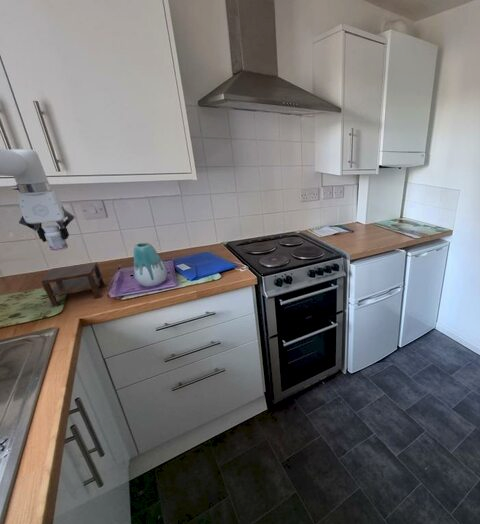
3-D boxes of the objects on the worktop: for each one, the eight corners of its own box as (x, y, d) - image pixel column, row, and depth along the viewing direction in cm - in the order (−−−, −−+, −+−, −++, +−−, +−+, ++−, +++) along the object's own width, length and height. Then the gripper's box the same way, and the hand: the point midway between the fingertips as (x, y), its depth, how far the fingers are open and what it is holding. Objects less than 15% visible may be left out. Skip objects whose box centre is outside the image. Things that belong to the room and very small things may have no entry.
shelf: (52, 306, 110) (40, 280, 106) (62, 292, 120) (51, 268, 116) (99, 297, 117) (90, 272, 112) (105, 284, 126) (96, 261, 122)
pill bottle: (49, 249, 109) (40, 226, 105) (67, 245, 112) (58, 224, 109) (52, 252, 106) (42, 229, 102) (69, 248, 109) (60, 226, 106)
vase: (173, 283, 128) (162, 243, 121) (141, 292, 120) (128, 251, 113) (164, 274, 135) (154, 237, 128) (134, 283, 128) (122, 243, 121)
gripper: (-6, 192, 94) (19, 246, 101) (64, 188, 101) (83, 239, 108) (5, 188, 100) (28, 240, 107) (70, 184, 107) (88, 233, 114)
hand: (55, 239), depth 107 cm, fingers closed on pill bottle, 4 cm apart
